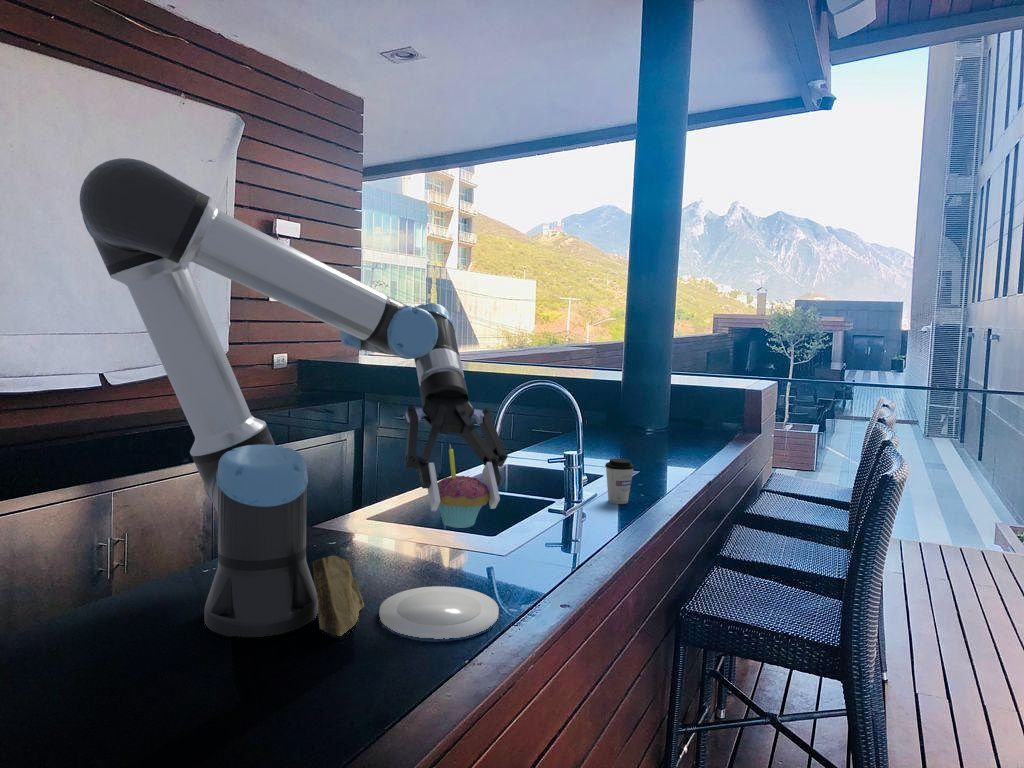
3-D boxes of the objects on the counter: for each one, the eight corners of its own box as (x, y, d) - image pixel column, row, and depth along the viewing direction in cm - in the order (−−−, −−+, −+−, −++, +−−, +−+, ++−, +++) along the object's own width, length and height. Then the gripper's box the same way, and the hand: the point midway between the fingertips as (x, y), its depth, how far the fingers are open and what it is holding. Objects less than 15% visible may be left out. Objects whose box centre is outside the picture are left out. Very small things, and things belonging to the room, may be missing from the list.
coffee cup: (597, 499, 177) (599, 458, 176) (622, 497, 180) (624, 457, 179) (613, 506, 171) (615, 464, 170) (638, 504, 174) (640, 462, 173)
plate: (390, 648, 95) (390, 638, 94) (371, 599, 111) (371, 590, 110) (514, 634, 100) (515, 624, 100) (479, 589, 116) (479, 581, 116)
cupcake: (436, 532, 105) (441, 449, 103) (425, 515, 113) (429, 438, 112) (494, 530, 107) (499, 450, 106) (479, 514, 115) (483, 439, 114)
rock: (343, 583, 110) (288, 593, 102) (372, 545, 108) (317, 552, 100) (378, 643, 105) (322, 659, 97) (409, 605, 102) (355, 617, 94)
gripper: (496, 398, 126) (525, 515, 113) (373, 396, 119) (389, 520, 105) (509, 370, 121) (541, 489, 108) (381, 366, 113) (399, 493, 100)
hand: (465, 505), depth 106 cm, fingers closed on cupcake, 8 cm apart
